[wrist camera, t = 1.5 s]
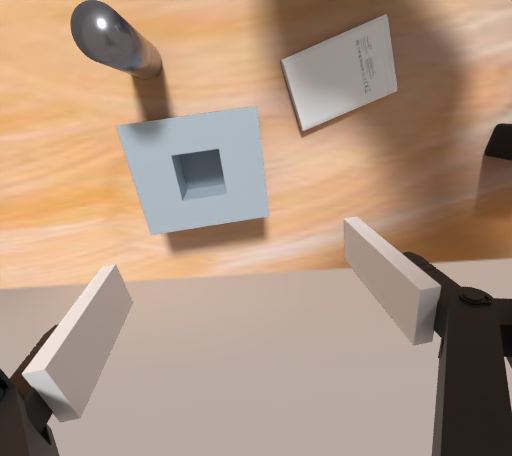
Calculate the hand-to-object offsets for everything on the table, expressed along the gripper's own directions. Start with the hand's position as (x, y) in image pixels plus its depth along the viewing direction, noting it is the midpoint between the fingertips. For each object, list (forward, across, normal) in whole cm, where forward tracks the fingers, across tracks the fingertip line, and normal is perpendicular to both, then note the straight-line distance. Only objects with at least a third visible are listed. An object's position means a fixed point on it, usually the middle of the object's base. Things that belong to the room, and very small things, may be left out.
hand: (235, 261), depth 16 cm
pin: (+22, -6, +14) cm, 27 cm away
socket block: (+22, -3, +2) cm, 22 cm away
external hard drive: (+23, +15, +9) cm, 29 cm away
